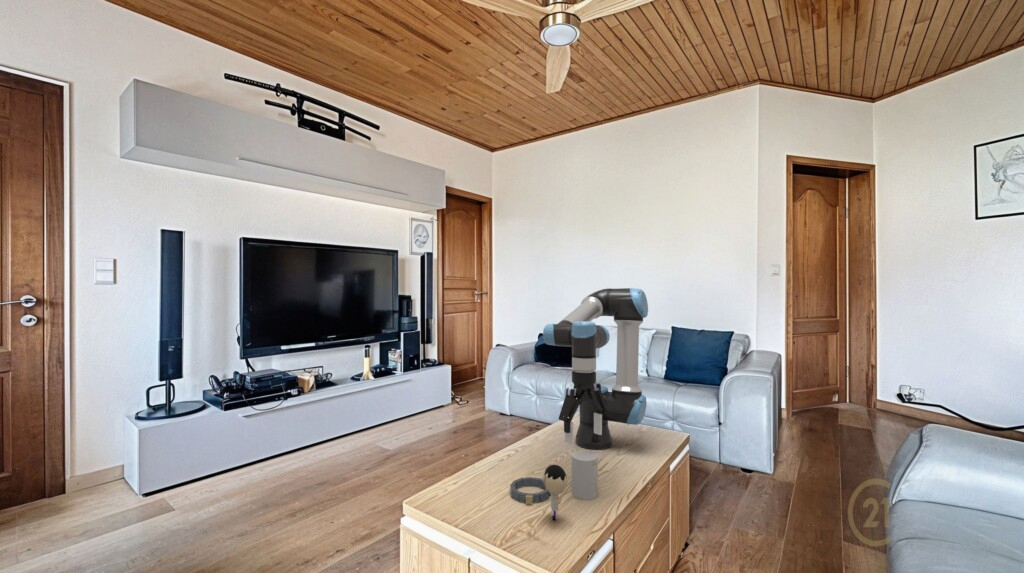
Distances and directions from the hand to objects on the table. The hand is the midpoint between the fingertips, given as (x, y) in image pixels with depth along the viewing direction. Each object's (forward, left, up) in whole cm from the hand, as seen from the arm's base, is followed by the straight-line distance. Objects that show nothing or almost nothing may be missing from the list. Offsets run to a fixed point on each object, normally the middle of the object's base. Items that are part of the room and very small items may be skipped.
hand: (583, 438), depth 137 cm
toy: (+18, +5, -18) cm, 25 cm away
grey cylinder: (0, 0, -18) cm, 18 cm away
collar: (+13, -11, -17) cm, 24 cm away
